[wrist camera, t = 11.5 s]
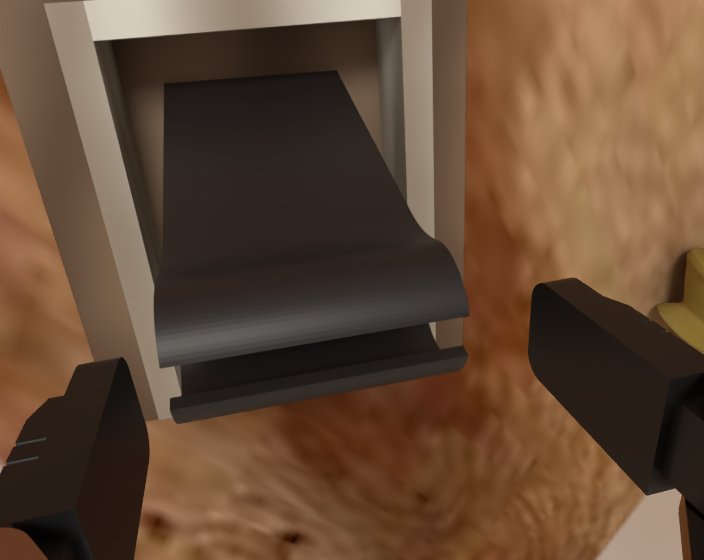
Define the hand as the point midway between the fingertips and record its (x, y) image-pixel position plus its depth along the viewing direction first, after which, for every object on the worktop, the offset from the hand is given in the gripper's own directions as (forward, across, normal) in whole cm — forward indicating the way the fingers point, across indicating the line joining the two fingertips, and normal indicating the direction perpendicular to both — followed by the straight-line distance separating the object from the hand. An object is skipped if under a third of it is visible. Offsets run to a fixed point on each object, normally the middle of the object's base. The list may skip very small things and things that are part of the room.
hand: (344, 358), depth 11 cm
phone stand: (+12, 0, 0) cm, 12 cm away
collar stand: (+13, 0, 0) cm, 13 cm away
